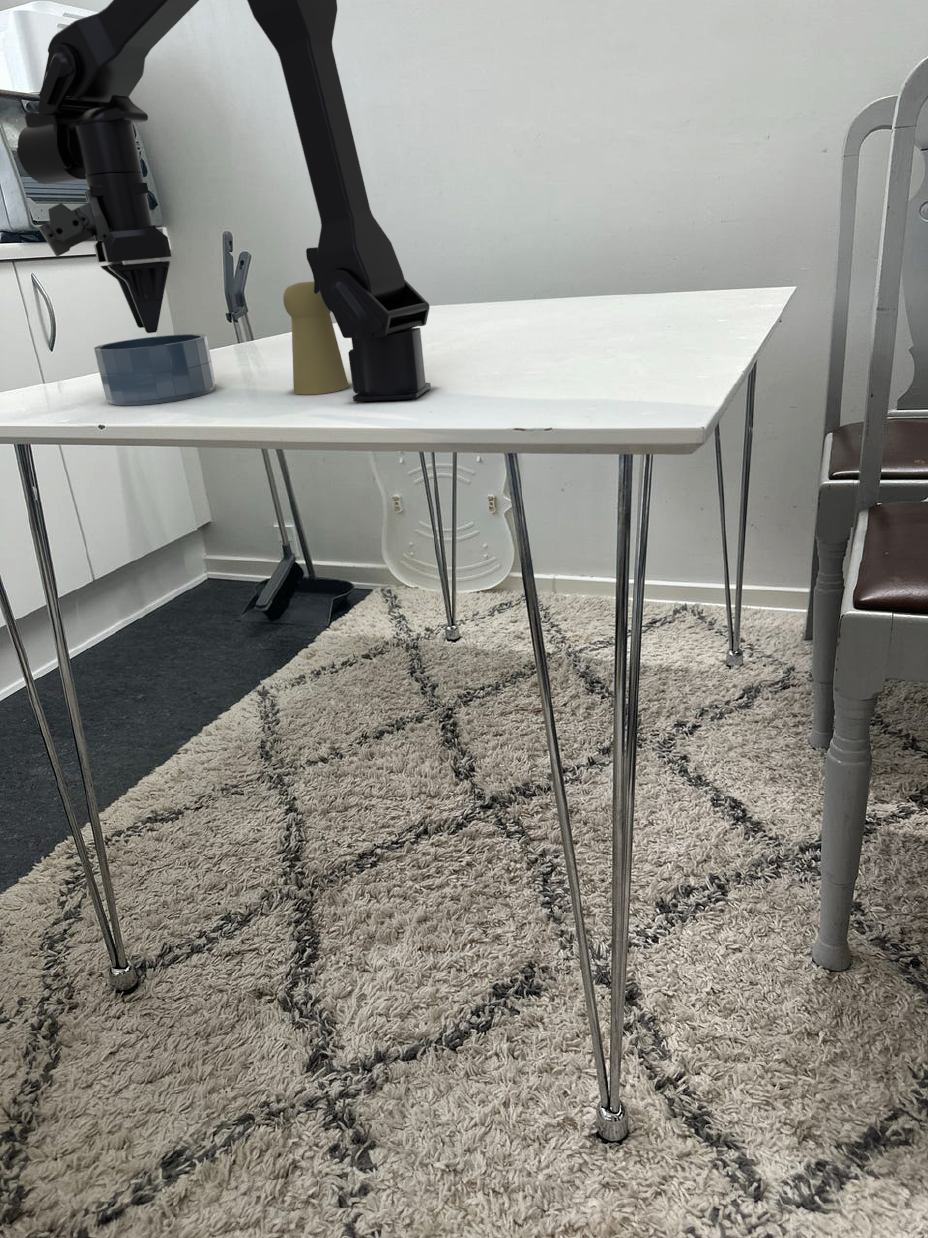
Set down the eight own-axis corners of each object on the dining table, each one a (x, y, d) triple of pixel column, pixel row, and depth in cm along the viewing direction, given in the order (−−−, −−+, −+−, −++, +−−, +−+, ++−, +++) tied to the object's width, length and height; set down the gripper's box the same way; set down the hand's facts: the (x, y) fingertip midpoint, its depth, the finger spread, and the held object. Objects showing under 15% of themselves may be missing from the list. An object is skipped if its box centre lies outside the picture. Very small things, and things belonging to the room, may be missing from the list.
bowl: (233, 383, 107) (224, 331, 104) (183, 403, 96) (172, 346, 94) (143, 388, 110) (132, 337, 107) (84, 408, 99) (70, 352, 96)
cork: (338, 393, 94) (322, 282, 90) (284, 395, 95) (267, 286, 91) (356, 383, 99) (342, 277, 95) (305, 385, 101) (290, 282, 96)
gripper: (32, 186, 99) (68, 332, 105) (31, 171, 83) (74, 345, 89) (136, 180, 103) (165, 321, 109) (154, 165, 87) (187, 332, 93)
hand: (147, 329), depth 100 cm, fingers open, 9 cm apart
